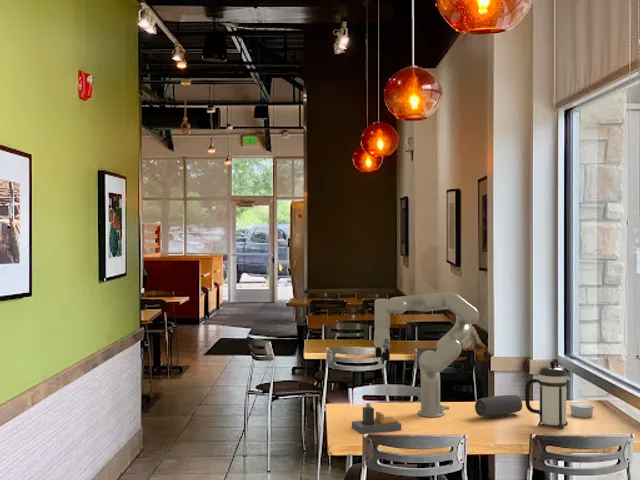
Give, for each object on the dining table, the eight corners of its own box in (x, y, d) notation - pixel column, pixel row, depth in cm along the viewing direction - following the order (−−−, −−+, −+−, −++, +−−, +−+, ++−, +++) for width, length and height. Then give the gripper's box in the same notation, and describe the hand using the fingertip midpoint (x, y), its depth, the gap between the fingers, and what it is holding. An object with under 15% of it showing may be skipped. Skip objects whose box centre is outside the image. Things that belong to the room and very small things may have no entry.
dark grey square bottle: (370, 428, 329) (370, 402, 329) (373, 430, 325) (373, 404, 325) (362, 429, 328) (362, 402, 328) (365, 431, 324) (365, 404, 324)
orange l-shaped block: (390, 418, 334) (390, 410, 334) (397, 422, 327) (397, 414, 327) (375, 420, 332) (375, 411, 332) (381, 424, 324) (381, 415, 324)
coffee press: (558, 420, 342) (558, 357, 342) (576, 429, 326) (575, 363, 326) (524, 422, 339) (524, 359, 339) (540, 430, 323) (540, 364, 324)
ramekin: (586, 419, 345) (586, 408, 345) (565, 415, 353) (565, 404, 353) (598, 415, 352) (598, 404, 352) (576, 411, 360) (576, 401, 360)
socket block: (391, 424, 336) (391, 417, 336) (401, 430, 325) (401, 423, 325) (351, 427, 330) (351, 421, 330) (360, 434, 319) (360, 427, 319)
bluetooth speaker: (510, 411, 360) (510, 392, 360) (523, 415, 351) (523, 395, 351) (474, 416, 350) (473, 396, 350) (486, 421, 342) (486, 400, 342)
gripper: (368, 322, 358) (368, 356, 358) (382, 326, 342) (382, 362, 342) (382, 321, 361) (382, 355, 361) (396, 325, 344) (396, 361, 344)
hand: (382, 358), depth 351 cm, fingers open, 9 cm apart
